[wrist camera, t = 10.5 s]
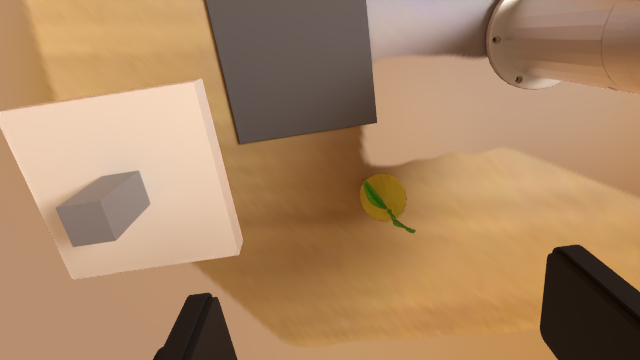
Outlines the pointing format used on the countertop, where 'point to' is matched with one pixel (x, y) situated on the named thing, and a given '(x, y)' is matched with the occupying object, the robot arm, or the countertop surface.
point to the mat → (294, 65)
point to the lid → (127, 178)
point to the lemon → (384, 198)
